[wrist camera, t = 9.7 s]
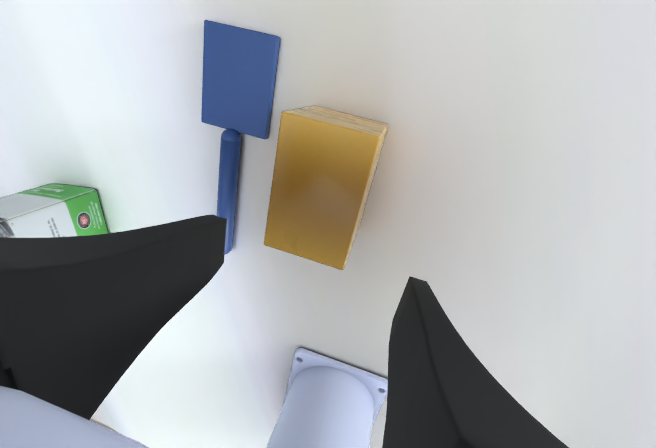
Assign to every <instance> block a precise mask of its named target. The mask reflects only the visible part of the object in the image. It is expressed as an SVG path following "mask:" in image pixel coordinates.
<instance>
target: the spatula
mask: <svg viewBox="0 0 656 448" xmlns="http://www.w3.org/2000/svg"><path fill="white" fill-rule="evenodd" d="M279 45H280V37H278V36H274V35H270V34H266V33H261V32H257V31H252V30H248V29H243V28H239V27H235V26H230V25H226V24H221V23H217V22H213V21H208V20H205V21H204V53H203V88H202V122H204V123H207V124H211V125H215V126H218V127H222V128H226V129H227V130H225V131H224V132H223V133H222V136H221V149H220V166H219V184H218V201H217V216H218V217H222V218H225V219H227V223H226V237H225V251H224V254H227V253H229V252H230V251H231V249H232V241H233V229H234V217H235V206H236V194H237V182H238V170H239V159H240V147H241V136H240V134H239V133H238V132H240V133H244V134H247V135H251V136H255V137H258V138H262V139H267V138H268V134H269V126H270V118H271V110H272V102H273V94H274V86H275V77H276V69H277V61H278V53H279Z"/></svg>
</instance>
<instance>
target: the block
mask: <svg viewBox="0 0 656 448" xmlns="http://www.w3.org/2000/svg"><path fill="white" fill-rule="evenodd" d="M387 128H388V124H385V123H381V122H377V121H373V120H369V119H365V118H362V117H358V116H354V115H350V114H346V113H342V112H338V111H334V110H330V109H326V108H322V107H318V106H309V107H304V108H299V109H293V110H288V111H283V112H282V115H281V122H280V129H279V137H278V144H277V151H276V159H275V166H274V173H273V181H272V188H271V195H270V203H269V210H268V217H267V225H266V232H265V239H264V245H266V246H269V247H272V248H276V249H279V250H282V251H285V252H288V253H291V254H294V255H297V256H300V257H303V258H306V259H310V260H313V261H316V262H319V263H322V264H325V265H328V266H331V267H334V268H337V269H341V270H343V269H344V266H345V264H346V261H347V258H348V256H349V253H350V251H351V248H352V245H353V243H354V240H355V238H356V235H357V232H358V230H359V226H360V223H361V219H362V216H363V212H364V209H365V205H366V202H367V198H368V195H369V191H370V188H371V184H372V181H373V177H374V174H375V170H376V167H377V163H378V160H379V156H380V153H381V149H382V146H383V142H384V139H385V135H386V132H387Z"/></svg>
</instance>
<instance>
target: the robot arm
mask: <svg viewBox="0 0 656 448" xmlns="http://www.w3.org/2000/svg"><path fill="white" fill-rule="evenodd" d="M226 223H227V219H225V218H222V217H218V216H215V215H206V216H200V217H195V218H190V219H185V220H180V221H176V222H171V223H167V224H162V225H157V226H152V227H146V228H141V229H135V230H130V231H123V232H116V233H108V234H99V235H88V236H70V237H50V238H9V237H0V448H148V447H146V446H145V445H143V444H141V443H140V442H138V441H135V440H133V439H131V438H128V437H126V436H124V435H121V434H119V433H117V432H115V431H112V430H110V429H108V428H105V427H103V426H101V425H99V424H96V423H94V422H92V421H89V420H90V418H91V417H92V415H93V414H94V412H95V411H96V410H97V408H98V407H99V406H100V404H101V403H102V402H103V400H104V399H105V398H106V396H107V395H108V394H109V392H110V391H111V390H112V388H113V387H114V386H115V384H116V383H117V382H118V380H119V379H120V378H121V376H122V375H123V374H124V373H125V371H126V370H127V369H128V368H129V366H130V365H131V364H132V363H133V361H134V360H135V359H136V358H137V356H138V355H139V354H140V353H141V351H142V350H143V349H144V348H145V347H146V346H147V344H148V343H149V342H150V341H151V340H152V338H153V337H154V336H155V335H156V334H157V333H158V331H159V330H160V329H161V328H162V327H163V326H164V325H165V324H166V323H167V322H168V321H169V320H170V319H171V318H172V317H173V316H174V315H175V314H176V313H177V312H179V311H180V310H181V309H182V308H183V307H184V306H185V305H186V304H187V303H188V302H189V301H190V300H191V299H192V298H193V297H194V296H195V295H196V294H197V293H198V292H199V291H200V290H201V289H202V288H203V287H204V286H205V285H206V284H207V283H208V282H209V281H210V280H211V279H212V278H213V276H214V275H215V274H216V273H217V271H218V270H219V269H220V267H221V266H222V264H223V263H224V251H225V237H226ZM300 358H301V359H300ZM387 392H388V393H387ZM386 395H387V414H386V423H385V431H384V439H383V447H382V448H569V447H567V446H566V445H565V444H564V443H562V442H561V441H560V440H559V439H558V438H556V437H555V436H554V435H553V434H552V433H551V432H550V431H548V430H547V429H546V428H545V427H544V426H543V425H542V424H541V423H540V422H538V421H537V420H536V419H535V418H534V417H533V416H532V415H531V414H530V413H528V412H527V411H526V410H525V409H524V408H523V407H522V406H521V405H520V404H519V403H518V402H517V401H516V400H515V399H514V398H513V397H512V396H511V395H510V394H509V393H508V392H507V391H506V390H505V389H504V388H503V387H502V386H501V385H500V384H499V383H498V382H497V380H496V379H495V378H494V377H493V376H492V375H491V374H490V373H489V372H488V371H487V369H486V368H485V367H484V366H483V365H482V363H481V362H480V361H479V360H478V359H477V357H476V356H475V355H474V354H473V353H472V351H471V350H470V349H469V347H468V346H467V345H466V343H465V342H464V341H463V339H462V338H461V336H460V335H459V334H458V332H457V331H456V329H455V328H454V326H453V325H452V323H451V322H450V320H449V319H448V317H447V315H446V314H445V312H444V310H443V309H442V307H441V305H440V304H439V302H438V300H437V299H436V297H435V295H434V293H433V292H432V290H431V288H430V286H429V285H428V283H427V282H426V281H423V280H420V279H417V278H413V277H409V280H408V282H407V285H406V287H405V290H404V292H403V295H402V297H401V300H400V303H399V305H398V308H397V310H396V313H395V315H394V318H393V322H392V328H391V334H390V341H389V357H388V380H387V379H386V378H383V377H380V376H377V375H375V374H372V373H369V372H366V371H364V370H361V369H358V368H355V367H353V366H350V365H347V364H344V363H342V362H339V361H336V360H333V359H331V358H328V357H325V356H322V355H320V354H317V353H314V352H311V351H309V350H306V349H303V348H298V349H297V350H296V352H295V355H294V359H293V364H292V368H291V372H290V377H289V381H288V385H287V390H286V394H285V399H284V403H283V407H282V410H281V413H280V415H279V418H278V420H277V422H276V425H275V427H274V430H273V432H272V435H271V437H270V440H269V442H268V444H267V447H266V448H369V446H370V438H371V429H372V426H373V423H374V421H375V419H376V417H377V414H378V412H379V410H380V408H381V406H382V403H383V401H384V399H385V397H386Z"/></svg>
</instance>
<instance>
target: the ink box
mask: <svg viewBox="0 0 656 448" xmlns="http://www.w3.org/2000/svg"><path fill="white" fill-rule="evenodd" d="M99 234H108V231H107V227H106V224H105V220H104V216H103V213H102V209H101V206H100V202H99V198H98V194H97V192H96V190H95V189H92V188H85V187H79V186H72V185H64V184H48V185H44V186H40V187H37V188H33V189H30V190H26V191H22V192H19V193H15V194H12V195H8V196H5V197H1V198H0V237H9V238H50V237H70V236H88V235H99Z"/></svg>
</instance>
